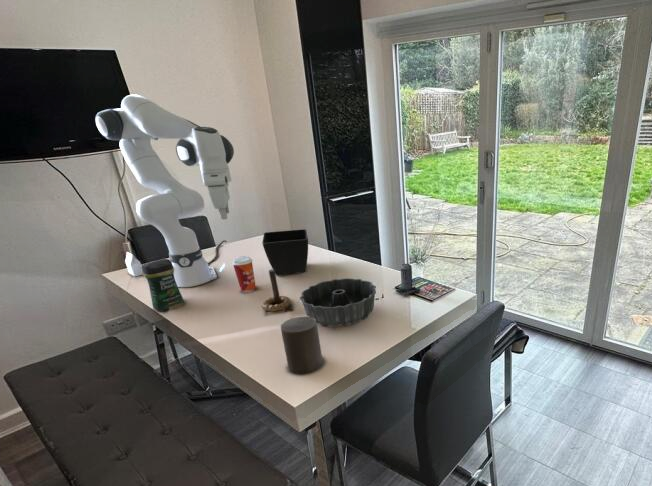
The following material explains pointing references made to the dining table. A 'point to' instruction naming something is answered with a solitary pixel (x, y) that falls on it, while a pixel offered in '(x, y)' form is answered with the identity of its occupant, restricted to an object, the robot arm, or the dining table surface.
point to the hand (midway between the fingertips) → (225, 216)
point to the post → (276, 290)
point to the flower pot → (286, 251)
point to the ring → (278, 307)
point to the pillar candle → (302, 344)
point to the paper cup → (244, 272)
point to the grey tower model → (406, 281)
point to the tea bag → (133, 265)
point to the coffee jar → (162, 284)
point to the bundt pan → (339, 301)
